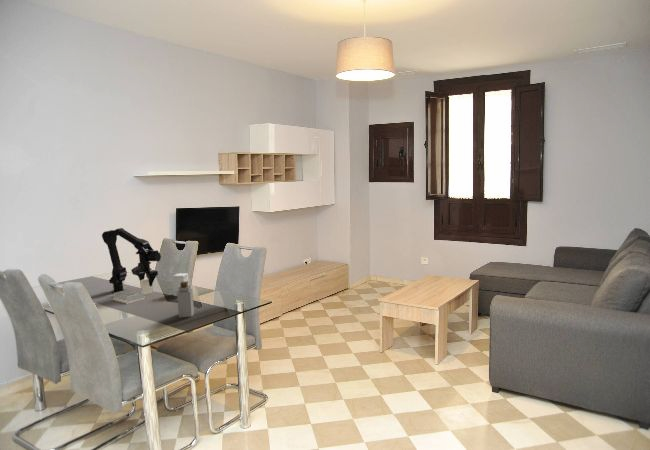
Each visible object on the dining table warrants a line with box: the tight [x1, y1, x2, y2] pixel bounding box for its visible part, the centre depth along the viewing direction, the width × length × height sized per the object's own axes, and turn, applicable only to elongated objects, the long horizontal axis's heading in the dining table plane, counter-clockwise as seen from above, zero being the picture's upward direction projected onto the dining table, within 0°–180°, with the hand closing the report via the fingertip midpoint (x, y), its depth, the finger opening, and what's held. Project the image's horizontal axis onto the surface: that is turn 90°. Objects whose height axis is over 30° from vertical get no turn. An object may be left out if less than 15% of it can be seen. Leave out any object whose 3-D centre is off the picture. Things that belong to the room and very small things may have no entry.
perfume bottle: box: [176, 282, 195, 318], centre depth 264 cm, size 7×7×18 cm
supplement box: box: [172, 272, 190, 297], centre depth 305 cm, size 7×7×13 cm
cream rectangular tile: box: [139, 277, 154, 295], centre depth 311 cm, size 2×7×9 cm, turn 142°
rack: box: [112, 288, 146, 305], centre depth 298 cm, size 15×12×4 cm
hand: (146, 285), depth 311 cm, fingers open, 9 cm apart
